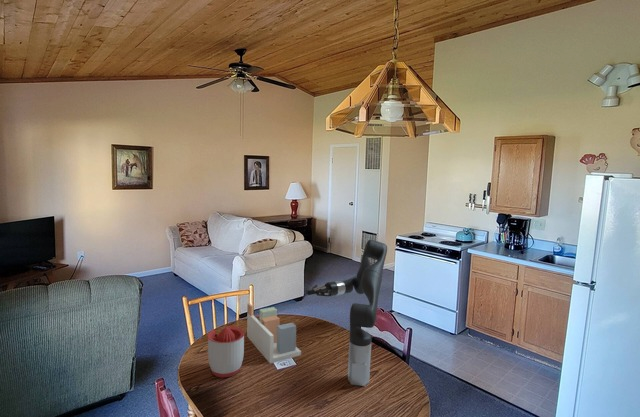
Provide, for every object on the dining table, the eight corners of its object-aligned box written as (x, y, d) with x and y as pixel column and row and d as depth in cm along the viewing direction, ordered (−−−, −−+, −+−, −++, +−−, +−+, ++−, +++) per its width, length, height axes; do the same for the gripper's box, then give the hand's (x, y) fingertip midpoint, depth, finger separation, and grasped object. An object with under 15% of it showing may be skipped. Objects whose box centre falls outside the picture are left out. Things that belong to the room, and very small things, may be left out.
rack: (275, 330, 204) (275, 298, 202) (300, 355, 178) (302, 319, 176) (247, 336, 196) (247, 303, 194) (269, 363, 170) (270, 325, 168)
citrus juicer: (232, 356, 175) (232, 315, 173) (250, 372, 162) (251, 328, 160) (200, 366, 165) (199, 323, 163) (216, 385, 152) (216, 338, 150)
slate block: (291, 345, 182) (292, 322, 181) (295, 349, 179) (296, 325, 177) (276, 349, 178) (277, 325, 177) (280, 353, 175) (280, 329, 173)
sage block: (273, 328, 201) (273, 306, 200) (276, 331, 197) (277, 309, 196) (259, 331, 197) (259, 309, 196) (262, 334, 193) (262, 312, 192)
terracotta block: (275, 338, 190) (276, 315, 189) (279, 341, 186) (279, 318, 185) (260, 341, 186) (261, 318, 184) (264, 345, 182) (264, 321, 181)
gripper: (328, 278, 208) (301, 282, 199) (342, 285, 197) (313, 289, 188) (328, 291, 209) (300, 295, 200) (341, 298, 198) (313, 303, 189)
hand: (307, 292), depth 194 cm, fingers closed
